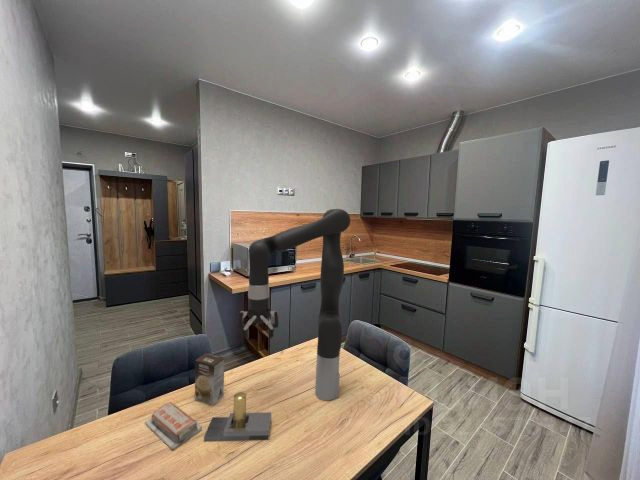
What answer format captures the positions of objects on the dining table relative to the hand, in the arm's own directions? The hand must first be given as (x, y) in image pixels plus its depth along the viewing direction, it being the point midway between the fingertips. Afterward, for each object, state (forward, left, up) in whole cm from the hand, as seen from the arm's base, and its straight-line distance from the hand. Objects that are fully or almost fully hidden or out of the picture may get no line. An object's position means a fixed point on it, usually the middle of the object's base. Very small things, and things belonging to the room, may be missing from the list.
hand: (259, 338), depth 97 cm
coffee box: (+19, -4, -26) cm, 33 cm away
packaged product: (+26, +10, -27) cm, 39 cm away
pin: (+4, +12, -26) cm, 29 cm away
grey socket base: (+4, +12, -26) cm, 29 cm away
